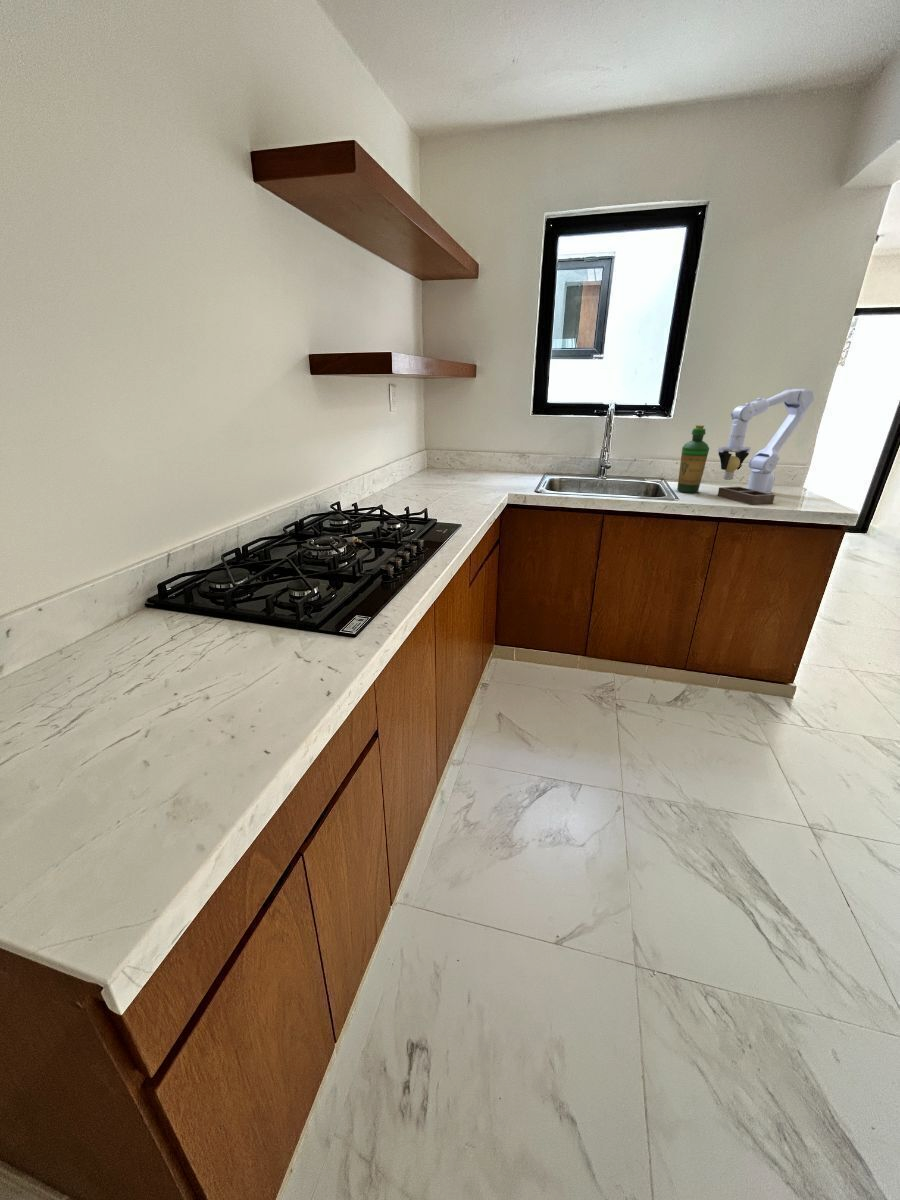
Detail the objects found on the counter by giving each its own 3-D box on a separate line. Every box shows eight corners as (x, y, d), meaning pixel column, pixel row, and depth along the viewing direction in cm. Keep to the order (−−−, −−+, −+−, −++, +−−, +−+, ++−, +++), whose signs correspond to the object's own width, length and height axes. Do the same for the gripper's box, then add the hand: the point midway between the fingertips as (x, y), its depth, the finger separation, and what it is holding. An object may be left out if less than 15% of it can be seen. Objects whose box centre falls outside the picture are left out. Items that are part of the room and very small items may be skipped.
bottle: (674, 492, 220) (686, 425, 209) (674, 488, 229) (686, 424, 218) (701, 494, 216) (714, 426, 206) (699, 490, 226) (712, 425, 215)
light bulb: (732, 478, 220) (737, 455, 216) (738, 481, 214) (744, 456, 210) (717, 478, 220) (722, 454, 216) (723, 480, 214) (728, 456, 211)
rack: (737, 494, 217) (739, 486, 216) (772, 503, 200) (775, 494, 199) (717, 495, 215) (719, 487, 213) (751, 504, 198) (753, 495, 196)
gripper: (730, 437, 205) (722, 471, 210) (759, 436, 208) (751, 470, 213) (717, 435, 211) (710, 468, 216) (746, 435, 214) (738, 467, 220)
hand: (729, 469), depth 215 cm, fingers closed on light bulb, 6 cm apart
